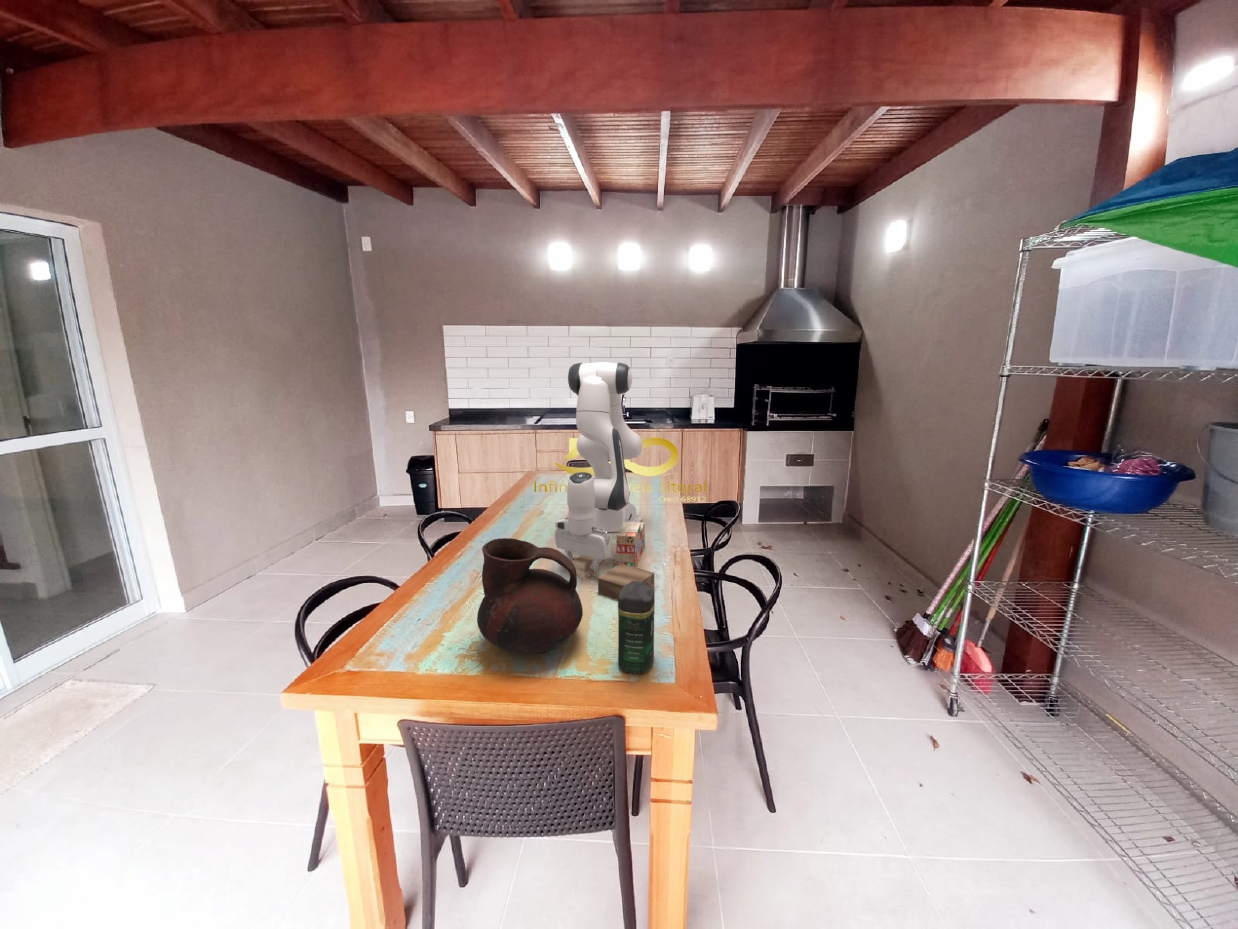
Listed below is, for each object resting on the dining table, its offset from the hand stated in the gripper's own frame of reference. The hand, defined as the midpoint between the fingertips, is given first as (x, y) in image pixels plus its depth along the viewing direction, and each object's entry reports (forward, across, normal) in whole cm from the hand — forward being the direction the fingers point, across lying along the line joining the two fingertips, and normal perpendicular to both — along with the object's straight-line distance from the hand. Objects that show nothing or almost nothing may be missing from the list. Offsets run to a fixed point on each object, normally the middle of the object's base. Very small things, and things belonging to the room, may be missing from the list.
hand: (583, 566), depth 156 cm
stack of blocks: (+3, -6, -20) cm, 21 cm away
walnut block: (+3, -18, +2) cm, 18 cm away
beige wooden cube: (+3, 0, 0) cm, 3 cm away
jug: (+3, -13, +36) cm, 38 cm away
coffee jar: (+3, -39, +29) cm, 48 cm away
